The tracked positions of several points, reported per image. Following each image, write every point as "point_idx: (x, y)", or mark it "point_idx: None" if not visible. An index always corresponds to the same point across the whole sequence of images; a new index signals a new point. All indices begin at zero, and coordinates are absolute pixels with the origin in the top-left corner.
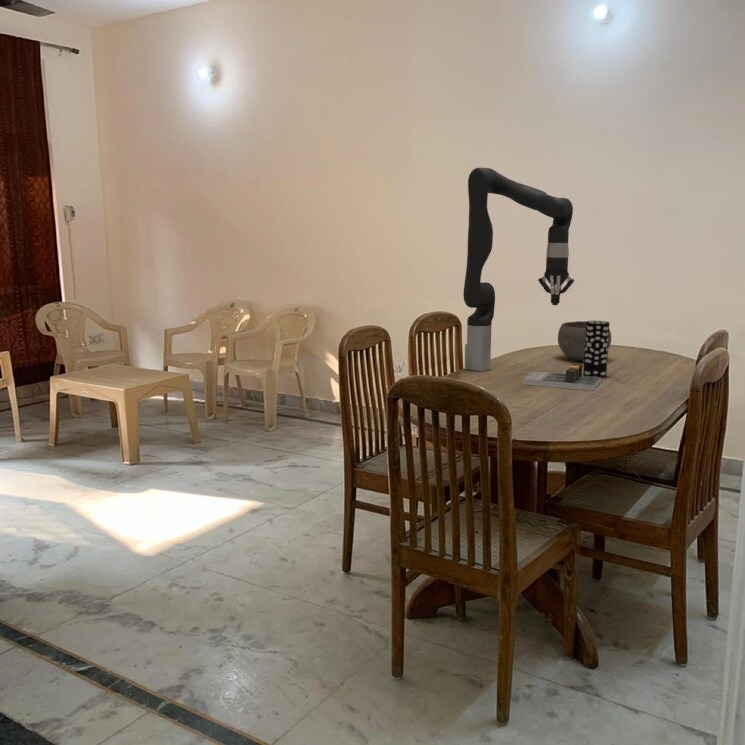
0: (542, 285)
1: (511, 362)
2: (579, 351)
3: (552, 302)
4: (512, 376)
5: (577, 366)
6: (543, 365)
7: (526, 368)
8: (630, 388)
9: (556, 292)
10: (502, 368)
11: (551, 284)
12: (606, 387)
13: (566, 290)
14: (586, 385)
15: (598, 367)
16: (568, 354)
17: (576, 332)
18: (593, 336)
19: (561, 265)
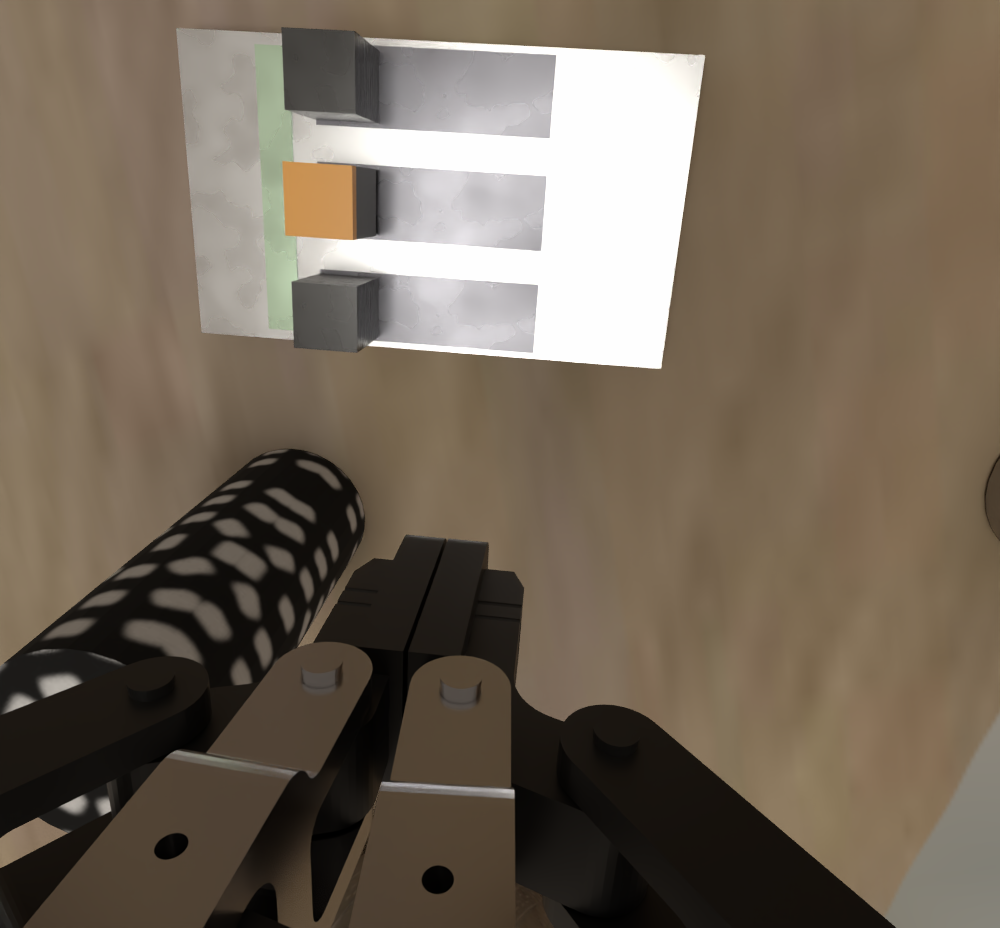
0: (859, 921)
1: (846, 737)
2: None
3: (488, 580)
4: (804, 318)
5: (296, 211)
6: (637, 706)
7: (732, 597)
8: (16, 225)
9: (341, 685)
10: (895, 551)
11: (458, 882)
12: (150, 197)
13: (89, 840)
14: (226, 33)
15: (234, 477)
16: None
17: None
18: (163, 579)
19: None
